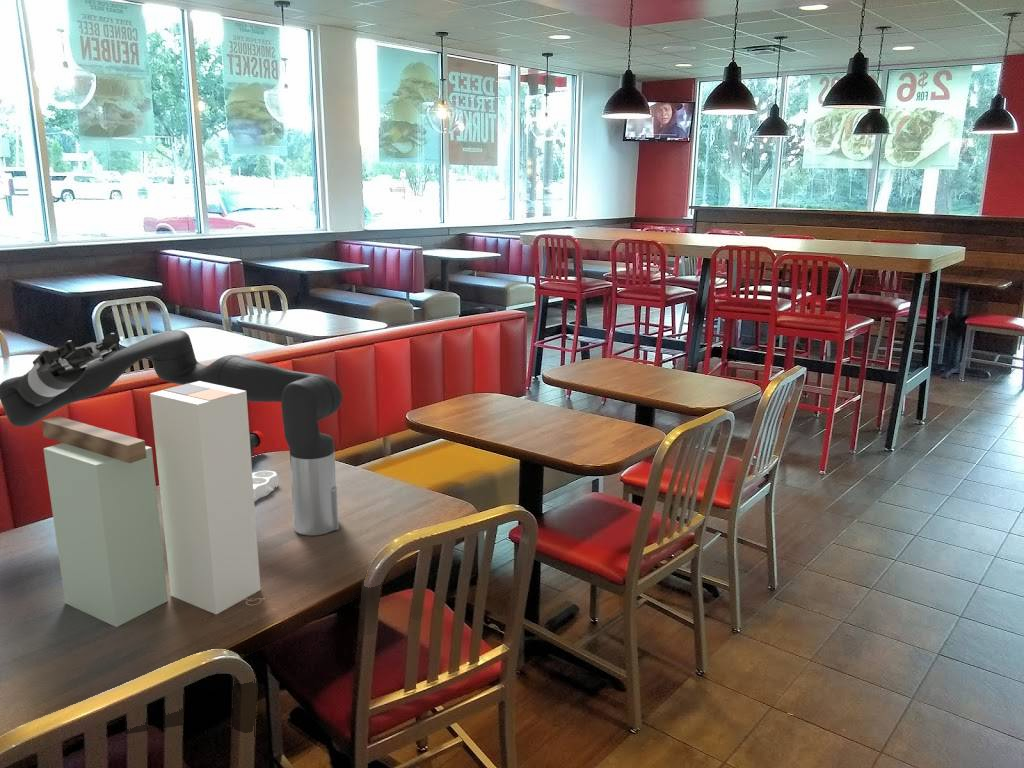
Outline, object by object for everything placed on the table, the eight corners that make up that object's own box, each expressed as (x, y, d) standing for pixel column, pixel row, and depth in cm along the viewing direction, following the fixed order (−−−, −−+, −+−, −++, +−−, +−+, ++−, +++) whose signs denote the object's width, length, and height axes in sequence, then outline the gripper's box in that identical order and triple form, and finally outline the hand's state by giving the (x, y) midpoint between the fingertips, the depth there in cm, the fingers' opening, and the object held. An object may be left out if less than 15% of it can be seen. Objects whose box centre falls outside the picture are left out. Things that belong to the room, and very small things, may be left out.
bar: (43, 436, 139) (41, 420, 138) (60, 432, 142) (58, 416, 141) (129, 463, 127) (127, 445, 127) (146, 457, 130) (144, 440, 129)
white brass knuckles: (245, 477, 201) (291, 487, 195) (189, 502, 185) (237, 514, 179) (245, 464, 200) (290, 475, 194) (188, 489, 184) (236, 501, 178)
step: (65, 603, 141) (43, 448, 133) (117, 579, 149) (99, 432, 142) (116, 627, 134) (96, 465, 126) (167, 600, 142) (151, 447, 135)
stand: (171, 595, 144) (149, 392, 134) (216, 572, 152) (199, 380, 142) (216, 614, 138) (197, 404, 128) (260, 589, 146) (246, 390, 137)
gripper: (11, 362, 153) (48, 329, 144) (82, 349, 165) (120, 317, 156) (27, 397, 153) (65, 366, 144) (97, 382, 165) (136, 352, 156)
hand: (94, 341), depth 150 cm, fingers open, 8 cm apart
